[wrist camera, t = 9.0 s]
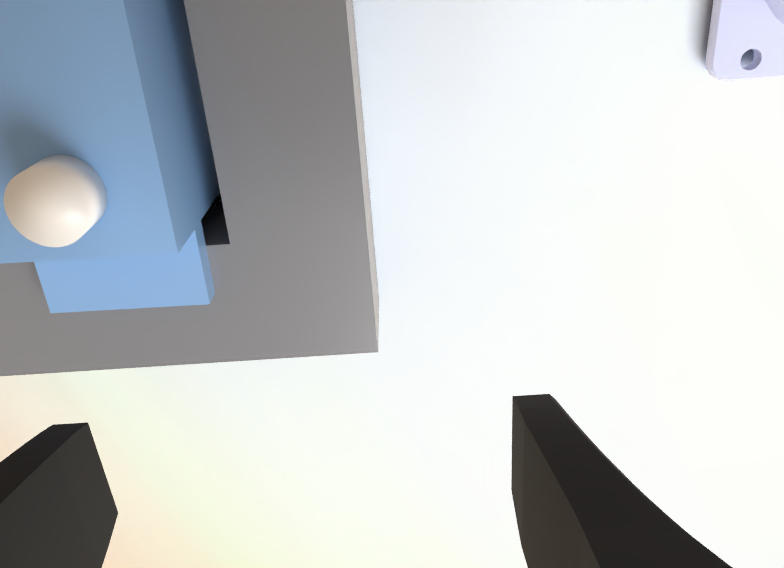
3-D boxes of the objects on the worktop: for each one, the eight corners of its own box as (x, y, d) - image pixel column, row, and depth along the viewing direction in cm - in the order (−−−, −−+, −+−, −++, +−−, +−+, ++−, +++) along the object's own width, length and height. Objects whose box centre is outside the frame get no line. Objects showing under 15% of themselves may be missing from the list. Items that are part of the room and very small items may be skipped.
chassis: (328, -272, 15) (315, -322, 12) (379, 299, 21) (378, 352, 18) (-214, -226, 15) (-346, -264, 12) (-4, 325, 21) (-62, 380, 18)
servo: (168, -152, 16) (53, -206, 10) (237, 246, 20) (184, 356, 15) (-4, -141, 16) (-207, -188, 10) (104, 254, 20) (1, 366, 15)
